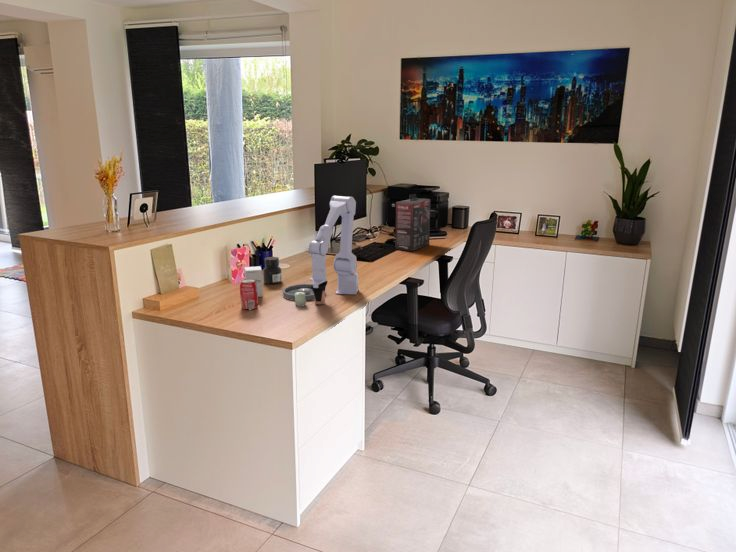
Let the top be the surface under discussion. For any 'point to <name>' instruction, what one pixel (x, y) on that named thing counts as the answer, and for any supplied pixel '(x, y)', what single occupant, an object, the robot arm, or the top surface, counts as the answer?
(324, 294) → the terracotta bead
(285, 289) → the groove tray
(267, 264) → the ink bottle
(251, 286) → the soda can
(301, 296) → the sage bead
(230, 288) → the top surface
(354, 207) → the robot arm
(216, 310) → the top surface
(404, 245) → the headset box
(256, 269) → the supplement box
